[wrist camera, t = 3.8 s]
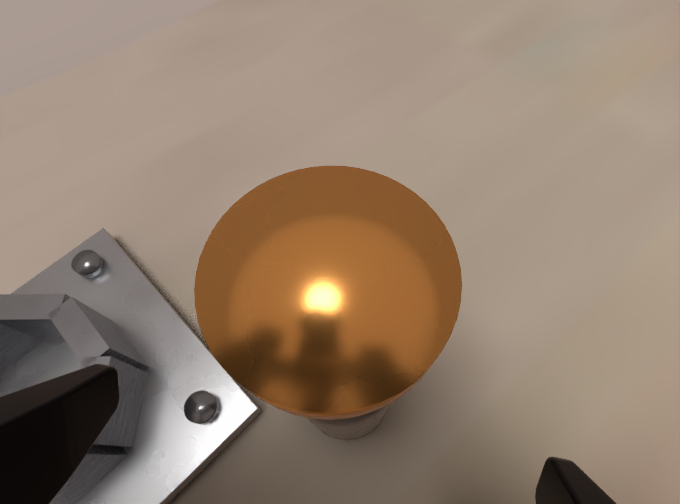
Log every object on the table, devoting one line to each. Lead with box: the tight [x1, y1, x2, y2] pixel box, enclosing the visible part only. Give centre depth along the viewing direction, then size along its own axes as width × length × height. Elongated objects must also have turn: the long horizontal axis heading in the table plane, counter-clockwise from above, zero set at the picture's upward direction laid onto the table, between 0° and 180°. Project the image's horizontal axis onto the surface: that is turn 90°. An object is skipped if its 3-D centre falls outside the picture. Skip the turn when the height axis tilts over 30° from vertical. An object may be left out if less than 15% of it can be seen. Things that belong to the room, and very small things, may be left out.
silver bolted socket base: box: [0, 228, 262, 504], centre depth 16 cm, size 12×12×4 cm
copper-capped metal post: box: [194, 166, 462, 440], centre depth 12 cm, size 4×4×12 cm
